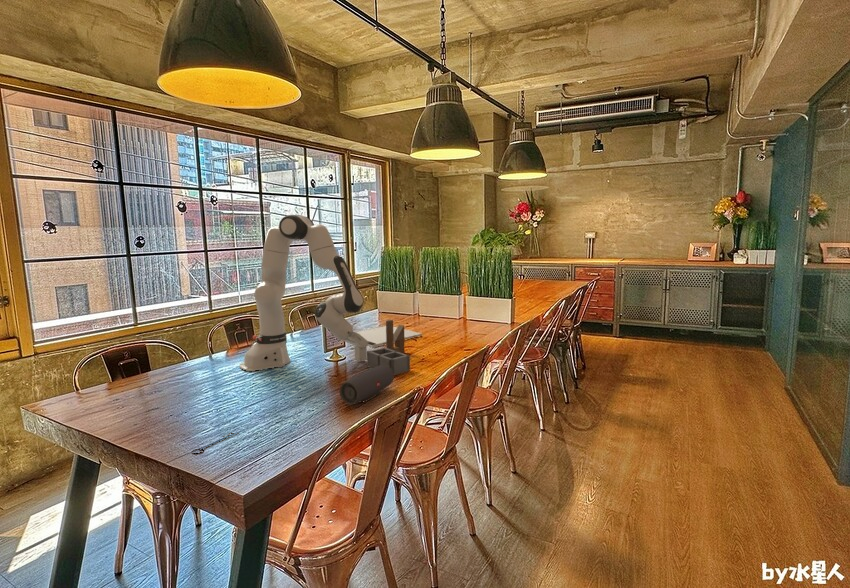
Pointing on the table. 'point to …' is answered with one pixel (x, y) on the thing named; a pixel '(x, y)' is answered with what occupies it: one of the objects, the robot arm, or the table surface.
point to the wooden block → (394, 337)
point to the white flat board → (383, 335)
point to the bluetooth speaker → (366, 384)
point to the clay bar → (360, 354)
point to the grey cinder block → (389, 360)
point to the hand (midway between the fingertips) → (361, 347)
